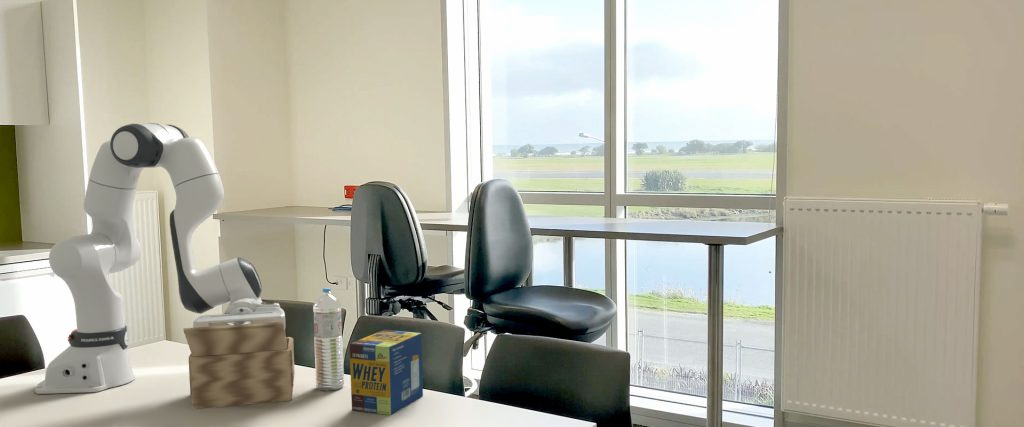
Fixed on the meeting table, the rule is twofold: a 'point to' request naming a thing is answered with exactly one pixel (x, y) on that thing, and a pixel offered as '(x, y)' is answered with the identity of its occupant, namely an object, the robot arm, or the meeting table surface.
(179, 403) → the meeting table surface
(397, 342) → the protein box
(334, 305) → the water bottle
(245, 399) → the carton
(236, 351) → the carton flap
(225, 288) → the robot arm
